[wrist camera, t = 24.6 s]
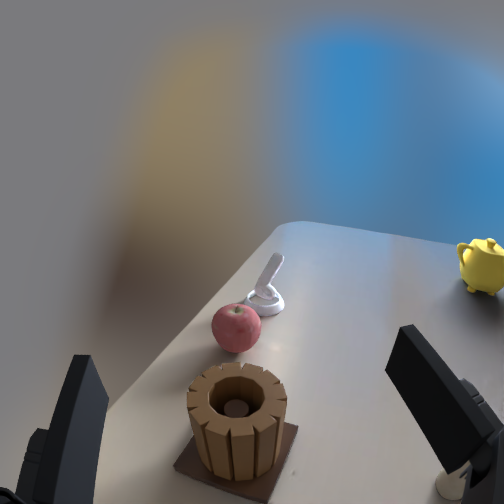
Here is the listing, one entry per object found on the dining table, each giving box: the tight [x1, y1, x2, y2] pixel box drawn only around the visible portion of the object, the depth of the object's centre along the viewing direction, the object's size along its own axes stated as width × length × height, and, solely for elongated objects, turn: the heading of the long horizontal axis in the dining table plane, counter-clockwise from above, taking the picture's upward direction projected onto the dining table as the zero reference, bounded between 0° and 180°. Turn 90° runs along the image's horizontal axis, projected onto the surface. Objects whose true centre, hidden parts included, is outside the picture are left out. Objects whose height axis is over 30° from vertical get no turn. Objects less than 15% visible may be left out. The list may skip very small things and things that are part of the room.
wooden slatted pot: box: [187, 362, 287, 481], centre depth 29 cm, size 9×9×10 cm
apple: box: [212, 304, 261, 353], centre depth 48 cm, size 7×7×8 cm
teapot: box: [457, 238, 504, 296], centre depth 62 cm, size 13×20×12 cm
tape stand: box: [173, 399, 298, 504], centre depth 30 cm, size 11×11×10 cm
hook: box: [244, 253, 284, 316], centre depth 60 cm, size 8×12×7 cm
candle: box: [436, 460, 470, 500], centre depth 21 cm, size 6×6×10 cm
